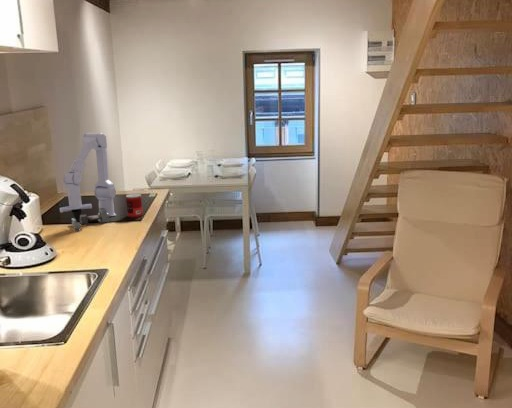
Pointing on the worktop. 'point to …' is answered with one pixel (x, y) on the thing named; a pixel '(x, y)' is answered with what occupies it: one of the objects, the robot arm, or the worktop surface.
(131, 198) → the canned food
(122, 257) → the worktop surface
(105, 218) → the eye bracket
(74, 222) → the grey lever bar
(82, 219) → the hook rod
